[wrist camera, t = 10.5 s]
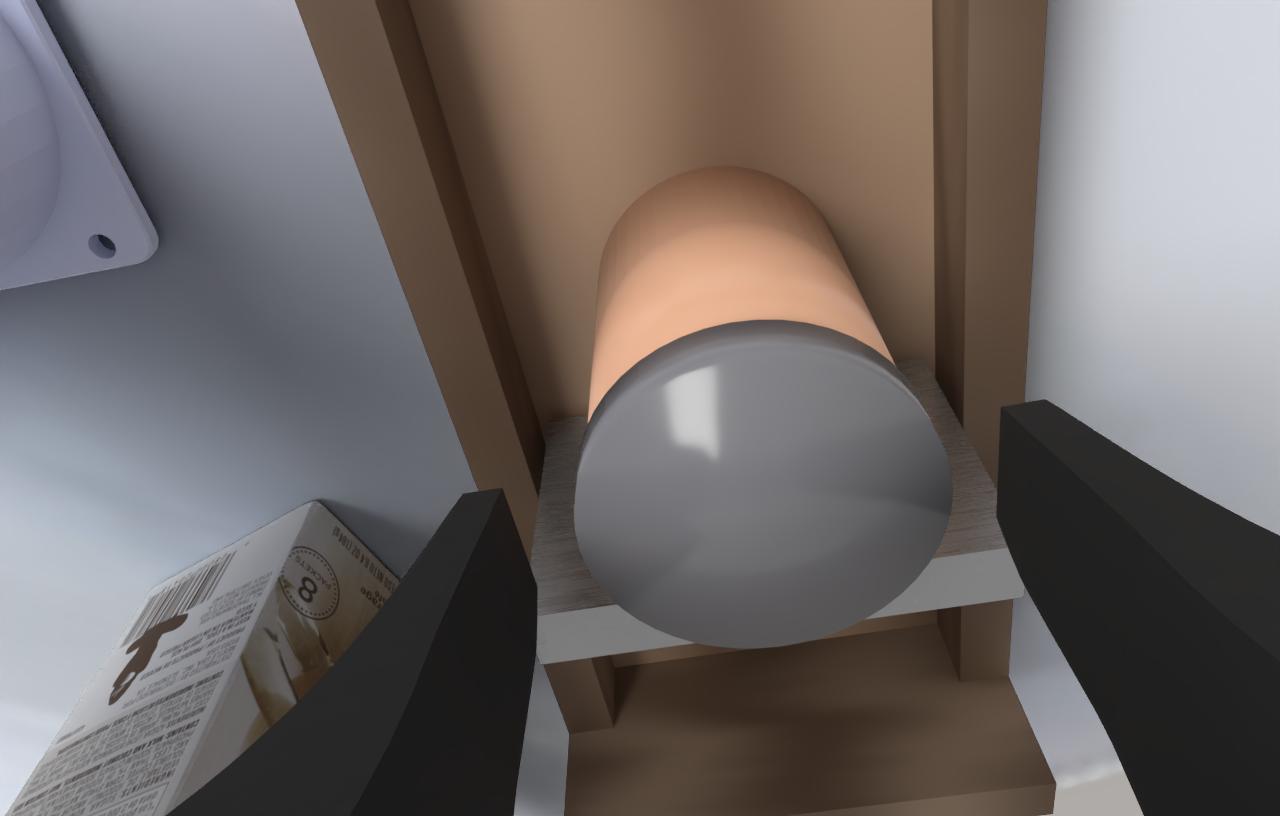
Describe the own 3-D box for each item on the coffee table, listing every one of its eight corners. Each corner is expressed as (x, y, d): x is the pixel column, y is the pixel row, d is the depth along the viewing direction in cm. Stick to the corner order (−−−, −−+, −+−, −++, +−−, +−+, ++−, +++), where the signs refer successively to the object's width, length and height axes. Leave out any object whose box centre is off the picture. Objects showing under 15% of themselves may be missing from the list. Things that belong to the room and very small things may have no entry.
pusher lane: (573, 687, 26) (561, 871, 22) (251, -224, 14) (69, -246, 9) (986, 631, 25) (1066, 812, 21) (1022, -412, 13) (1240, -542, 8)
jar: (621, 406, 20) (617, 669, 14) (567, 188, 17) (531, 396, 11) (851, 367, 20) (953, 622, 13) (833, 137, 17) (953, 324, 11)
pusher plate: (561, 461, 21) (540, 664, 16) (549, 420, 20) (523, 617, 15) (924, 403, 20) (1024, 597, 15) (923, 357, 19) (1027, 544, 14)
